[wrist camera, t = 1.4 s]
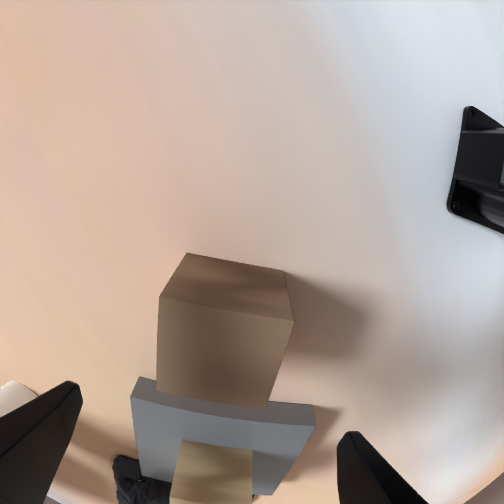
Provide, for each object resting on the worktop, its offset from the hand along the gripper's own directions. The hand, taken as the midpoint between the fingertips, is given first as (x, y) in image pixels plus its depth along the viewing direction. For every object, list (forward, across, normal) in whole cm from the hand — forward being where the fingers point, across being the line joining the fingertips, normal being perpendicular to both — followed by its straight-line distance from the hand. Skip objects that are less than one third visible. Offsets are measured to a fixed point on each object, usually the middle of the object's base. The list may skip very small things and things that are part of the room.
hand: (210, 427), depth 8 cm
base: (+8, -1, +13) cm, 16 cm away
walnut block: (+8, 0, 0) cm, 9 cm away
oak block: (+6, -1, +13) cm, 15 cm away
